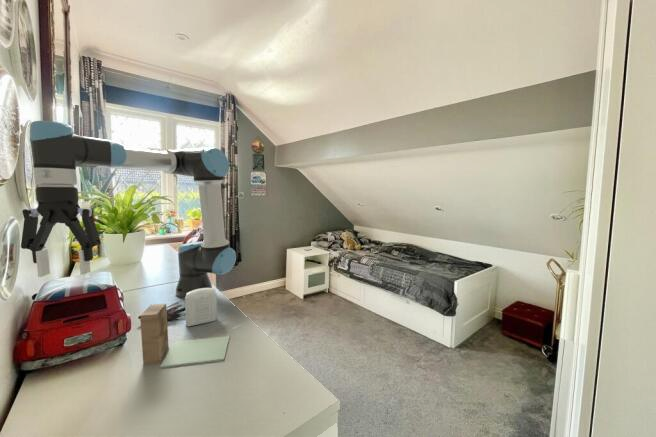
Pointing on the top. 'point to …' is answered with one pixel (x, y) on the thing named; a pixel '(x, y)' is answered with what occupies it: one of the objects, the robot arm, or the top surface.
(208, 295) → the photo printer
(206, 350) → the mat
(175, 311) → the action figure
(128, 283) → the top surface
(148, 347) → the walnut block
